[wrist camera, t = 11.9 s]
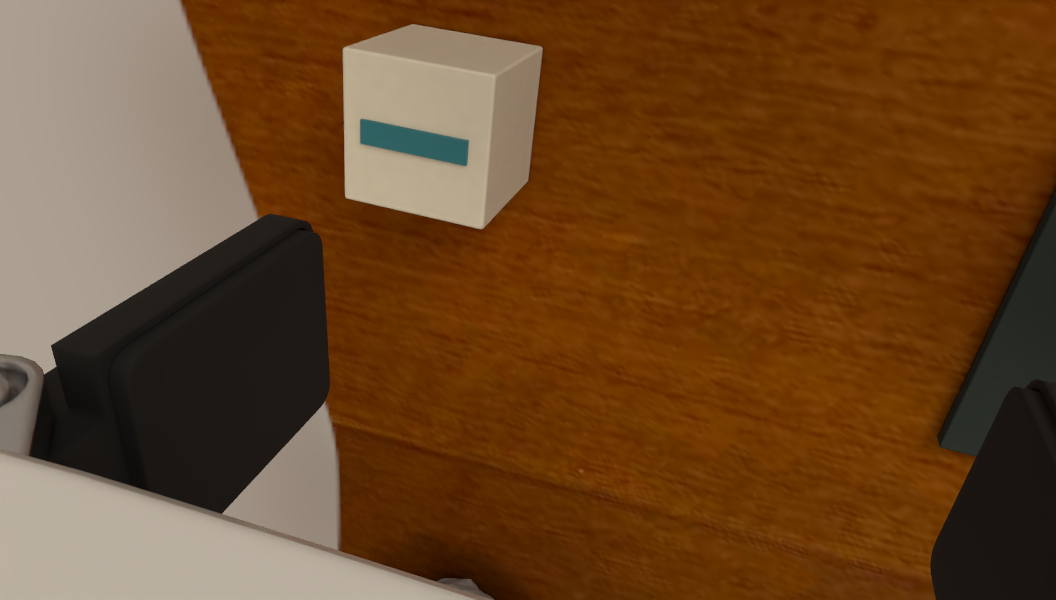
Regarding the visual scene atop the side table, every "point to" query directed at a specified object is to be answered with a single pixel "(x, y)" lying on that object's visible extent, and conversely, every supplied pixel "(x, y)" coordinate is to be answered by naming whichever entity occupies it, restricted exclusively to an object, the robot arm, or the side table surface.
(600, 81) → the side table surface
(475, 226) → the letter i
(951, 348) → the side table surface
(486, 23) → the side table surface
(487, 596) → the stone
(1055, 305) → the word mat
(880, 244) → the side table surface
